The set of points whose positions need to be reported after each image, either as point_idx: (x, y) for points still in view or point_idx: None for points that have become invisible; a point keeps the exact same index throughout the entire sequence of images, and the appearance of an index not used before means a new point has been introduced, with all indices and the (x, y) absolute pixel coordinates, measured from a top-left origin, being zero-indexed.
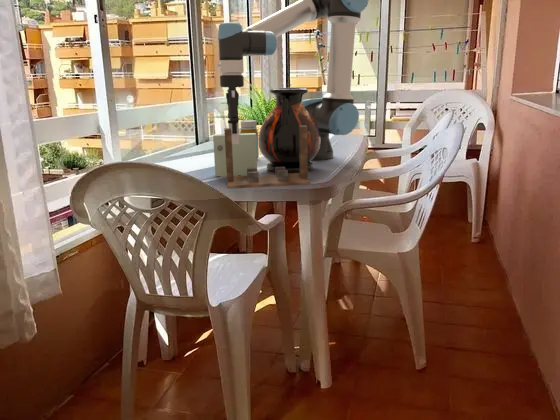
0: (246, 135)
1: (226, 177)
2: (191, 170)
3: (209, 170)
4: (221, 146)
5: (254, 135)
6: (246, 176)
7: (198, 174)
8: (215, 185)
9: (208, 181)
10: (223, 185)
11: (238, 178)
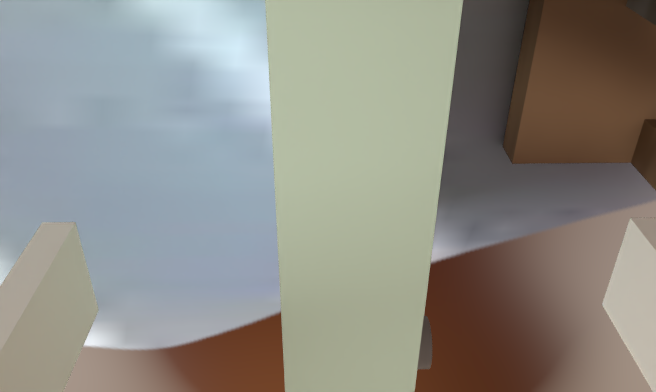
0: (438, 151)
1: (525, 161)
2: (88, 345)
3: (92, 250)
4: (430, 345)
5: (458, 3)
6: (577, 9)
7: (226, 306)
8: (596, 212)
9: (461, 250)
10: (622, 167)
11: (623, 79)
